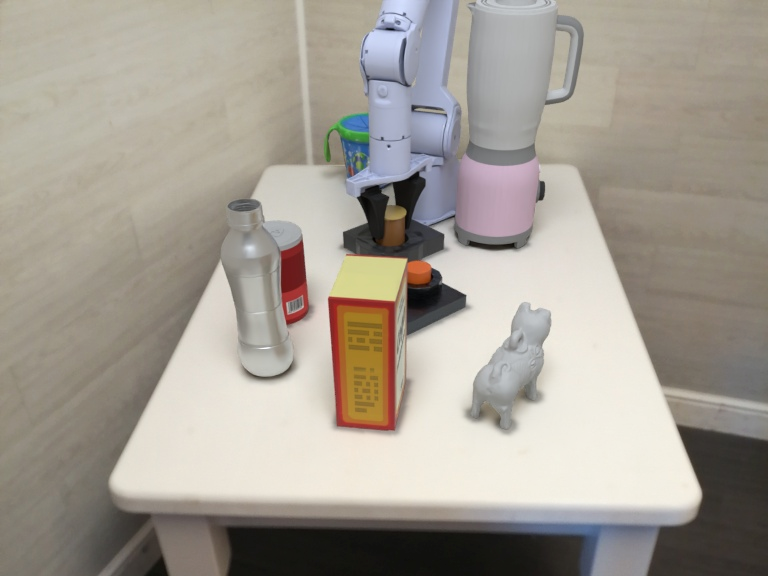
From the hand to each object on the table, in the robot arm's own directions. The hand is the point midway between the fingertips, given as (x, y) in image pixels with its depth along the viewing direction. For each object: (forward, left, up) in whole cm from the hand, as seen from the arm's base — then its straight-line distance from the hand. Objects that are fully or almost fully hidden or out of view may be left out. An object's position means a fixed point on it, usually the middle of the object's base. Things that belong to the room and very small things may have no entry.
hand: (390, 232), depth 108 cm
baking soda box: (+26, +27, -4) cm, 38 cm away
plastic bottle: (+31, +13, -4) cm, 34 cm away
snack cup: (-15, -23, -4) cm, 28 cm away
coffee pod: (0, 0, -1) cm, 1 cm away
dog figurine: (+14, +37, -4) cm, 40 cm away
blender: (-18, +7, -4) cm, 19 cm away
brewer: (+8, +14, -3) cm, 17 cm away
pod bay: (-2, -1, -3) cm, 4 cm away
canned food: (+22, +3, -4) cm, 23 cm away
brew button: (+7, +13, 0) cm, 15 cm away
